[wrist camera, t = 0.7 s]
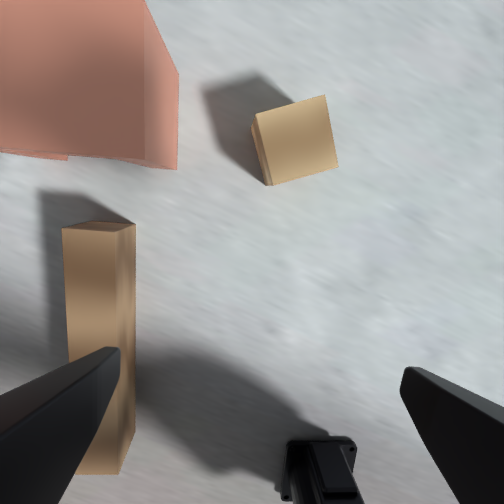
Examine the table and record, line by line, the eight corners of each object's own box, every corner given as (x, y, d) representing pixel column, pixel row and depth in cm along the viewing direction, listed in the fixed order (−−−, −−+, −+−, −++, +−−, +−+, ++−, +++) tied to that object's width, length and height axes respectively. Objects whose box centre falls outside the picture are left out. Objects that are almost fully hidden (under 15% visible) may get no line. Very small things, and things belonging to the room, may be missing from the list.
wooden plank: (136, 428, 24) (118, 474, 20) (100, 428, 24) (75, 474, 20) (136, 223, 20) (114, 232, 17) (94, 220, 20) (61, 227, 16)
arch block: (176, 170, 19) (144, 159, 12) (39, 158, 19) (-82, 139, 11) (178, 74, 18) (143, -2, 11) (31, 57, 17) (-113, -37, 10)
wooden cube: (317, 170, 20) (338, 167, 16) (265, 185, 20) (273, 185, 16) (306, 112, 19) (324, 94, 15) (250, 128, 19) (255, 113, 15)
